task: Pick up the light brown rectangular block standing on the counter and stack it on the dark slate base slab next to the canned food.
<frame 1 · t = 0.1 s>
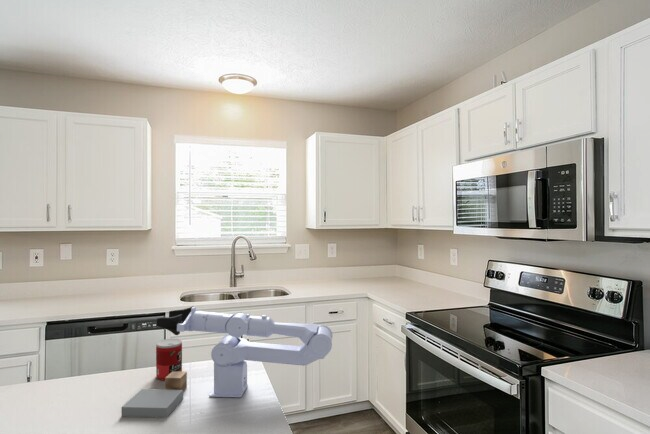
hand: (163, 318, 111), 22 cm above the countertop, tool horizontal, fingers open, 7 cm apart
slate base: (153, 407, 101), on the countertop
light brown rectangular block: (176, 391, 111), on the countertop
canned food: (169, 376, 121), on the countertop
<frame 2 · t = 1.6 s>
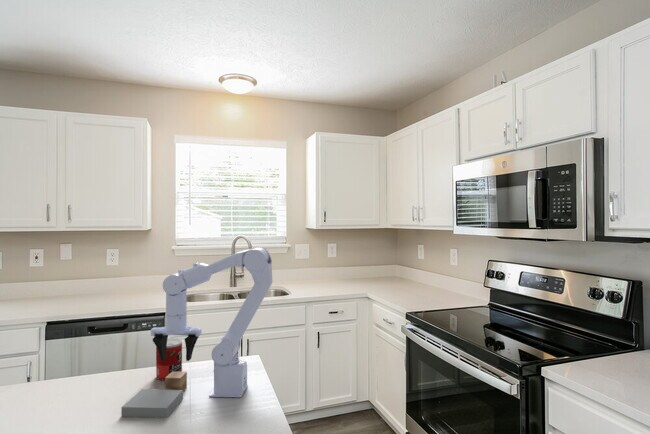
hand: (176, 359, 111), 9 cm above the countertop, tool pointing down, fingers open, 7 cm apart
nothing on the countertop moved.
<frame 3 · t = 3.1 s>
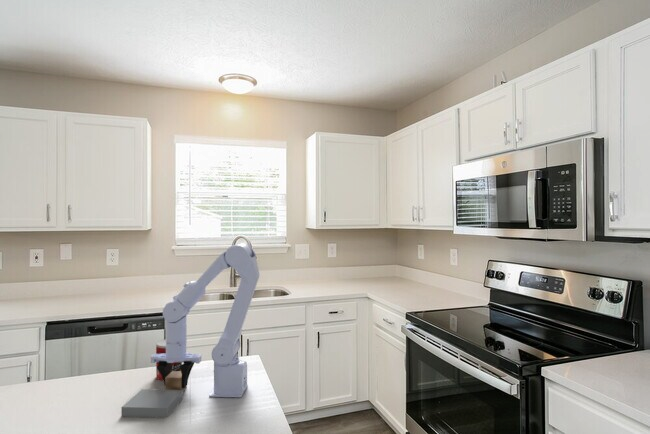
hand: (176, 386, 111), 1 cm above the countertop, tool pointing down, fingers closed on light brown rectangular block, 4 cm apart
light brown rectangular block: (176, 391, 111), on the countertop, touching gripper
everything else where it was.
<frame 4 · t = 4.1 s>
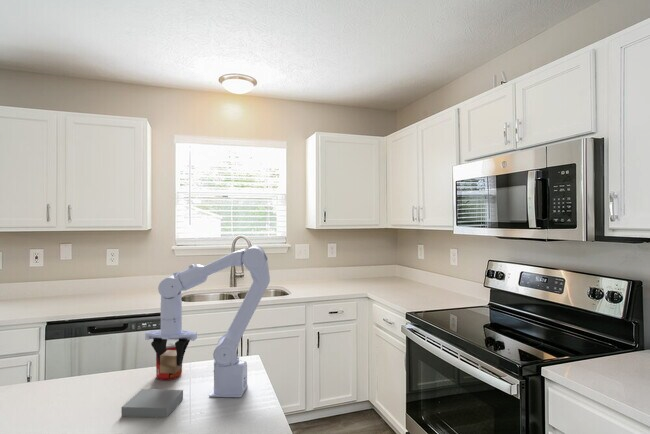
hand: (171, 364, 108), 9 cm above the countertop, tool pointing down, fingers closed on light brown rectangular block, 4 cm apart
light brown rectangular block: (171, 370, 108), point 7 cm above the countertop, touching gripper
everything else where it was.
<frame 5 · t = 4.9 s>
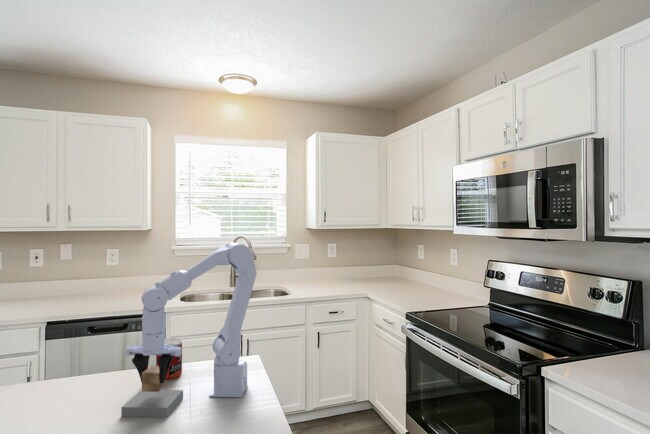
hand: (153, 381, 101), 7 cm above the countertop, tool pointing down, fingers closed on light brown rectangular block, 4 cm apart
light brown rectangular block: (154, 387, 101), point 5 cm above the countertop, touching gripper
everything else where it was.
when the fingers open (5 cm above the countertop, at t = 5.6 s): light brown rectangular block drops 1 cm, resting on slate base.
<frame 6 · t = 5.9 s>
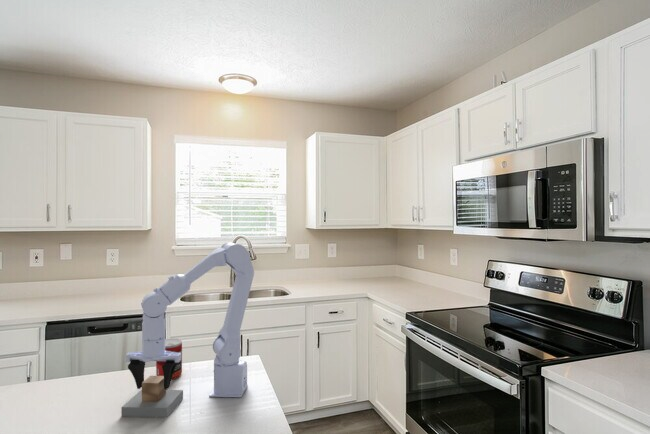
hand: (153, 387, 101), 5 cm above the countertop, tool pointing down, fingers open, 7 cm apart
light brown rectangular block: (154, 397, 101), point 2 cm above the countertop, touching slate base
everything else where it was.
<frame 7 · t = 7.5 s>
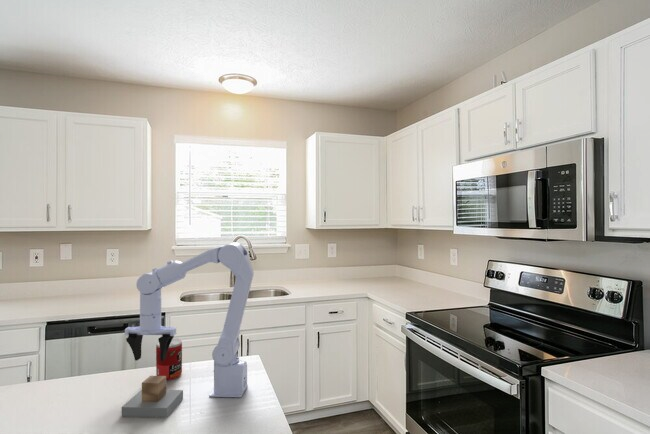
hand: (150, 359, 109), 10 cm above the countertop, tool pointing down, fingers open, 7 cm apart
nothing on the countertop moved.
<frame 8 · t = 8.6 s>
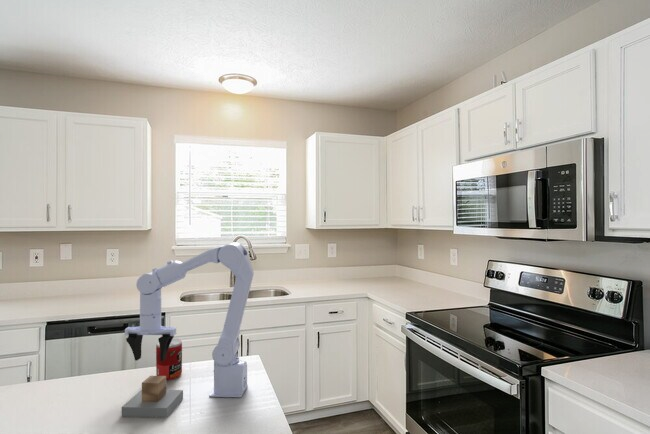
hand: (150, 359, 109), 10 cm above the countertop, tool pointing down, fingers open, 7 cm apart
nothing on the countertop moved.
at the end: light brown rectangular block inside the target area on the slate base (0.3 cm from its centre), point 2.5 cm above the slate base's base; light brown rectangular block tilted 0°; the gripper is holding nothing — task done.
